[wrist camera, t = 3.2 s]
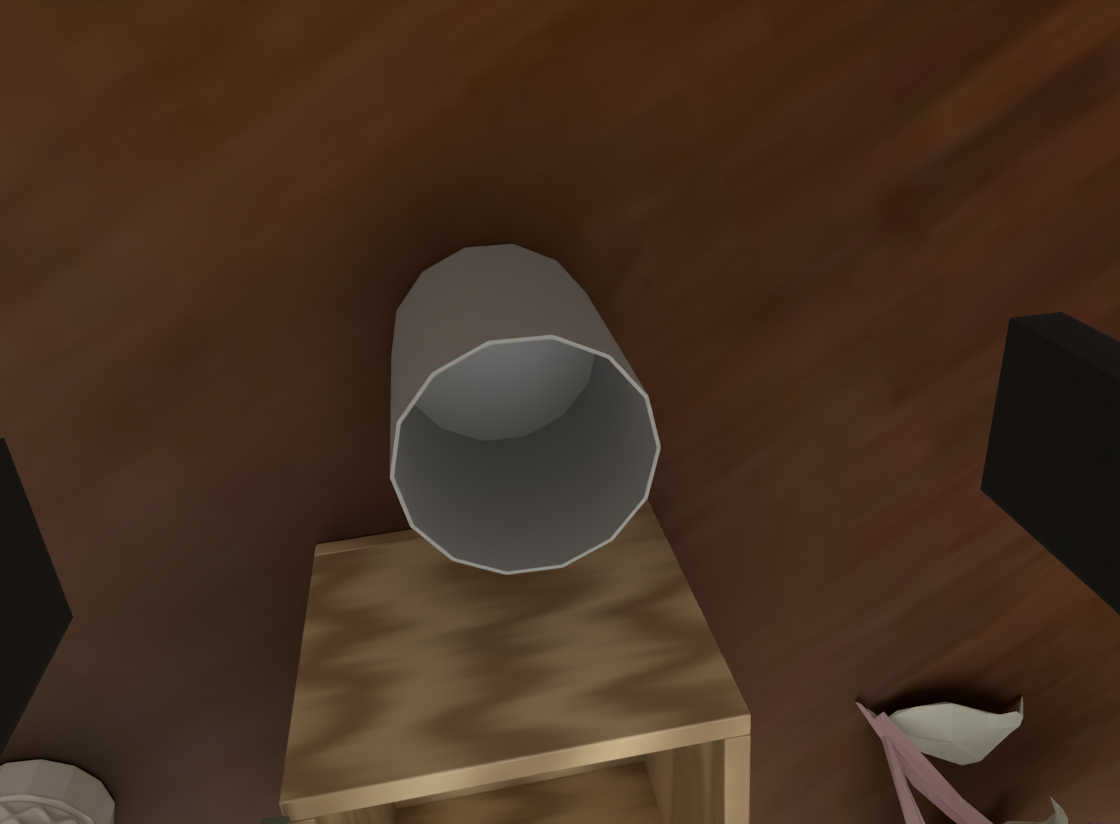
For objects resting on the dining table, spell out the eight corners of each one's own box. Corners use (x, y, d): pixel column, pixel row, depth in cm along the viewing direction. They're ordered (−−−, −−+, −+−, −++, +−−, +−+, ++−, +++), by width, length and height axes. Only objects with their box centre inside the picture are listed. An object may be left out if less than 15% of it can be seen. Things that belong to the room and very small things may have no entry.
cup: (362, 279, 35) (350, 383, 26) (566, 216, 35) (624, 298, 26) (432, 460, 38) (443, 605, 30) (615, 402, 39) (681, 529, 30)
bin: (644, 491, 41) (751, 713, 29) (657, 756, 48) (746, 1023, 36) (315, 543, 39) (278, 803, 27) (381, 809, 47) (375, 1108, 34)
